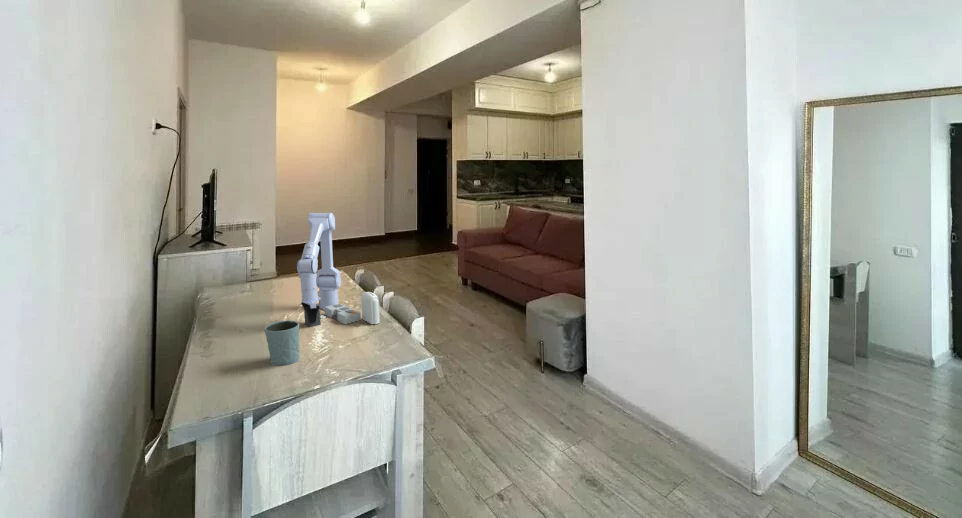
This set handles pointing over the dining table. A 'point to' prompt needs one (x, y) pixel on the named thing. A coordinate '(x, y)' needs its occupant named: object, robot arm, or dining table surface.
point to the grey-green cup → (283, 342)
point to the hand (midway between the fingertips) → (311, 321)
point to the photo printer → (370, 308)
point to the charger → (316, 319)
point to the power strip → (342, 313)
